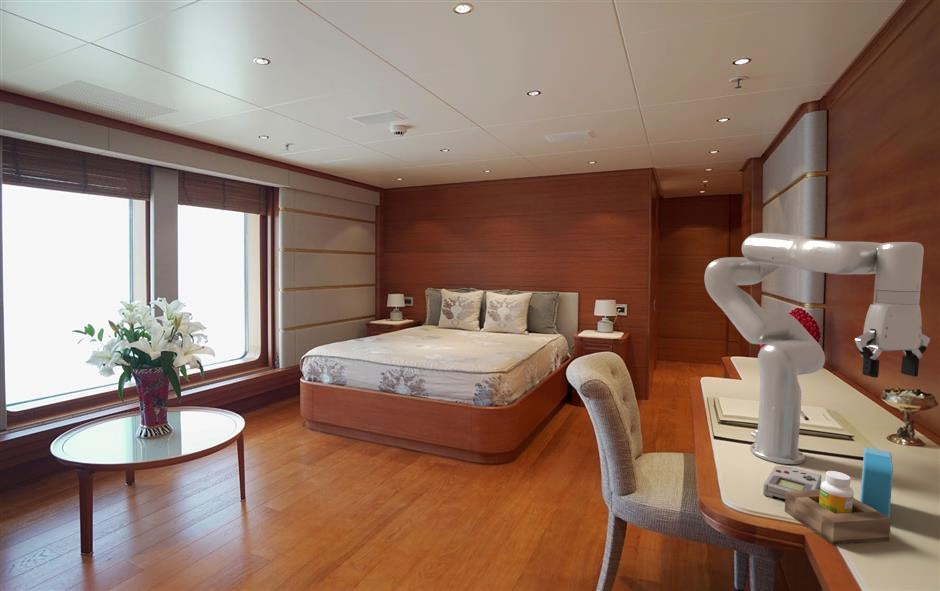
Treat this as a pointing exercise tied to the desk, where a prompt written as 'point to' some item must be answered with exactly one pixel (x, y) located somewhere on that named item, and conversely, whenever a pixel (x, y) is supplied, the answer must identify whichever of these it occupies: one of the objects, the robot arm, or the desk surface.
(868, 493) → the data package
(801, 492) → the walnut pocket block
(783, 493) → the handheld gaming console
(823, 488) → the supplement bottle
